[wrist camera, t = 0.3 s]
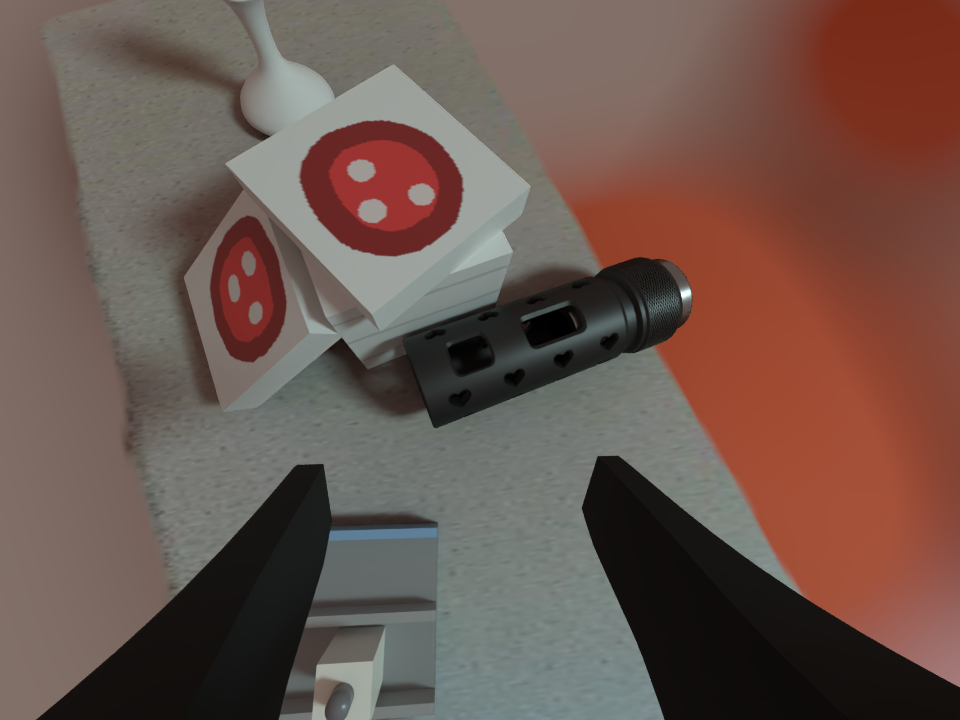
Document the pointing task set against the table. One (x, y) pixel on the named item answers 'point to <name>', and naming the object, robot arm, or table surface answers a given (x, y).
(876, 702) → the robot arm
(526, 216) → the table surface
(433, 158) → the pizza boxes
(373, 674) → the plug
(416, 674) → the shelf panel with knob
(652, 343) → the muzzle brake
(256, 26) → the flower in vase
